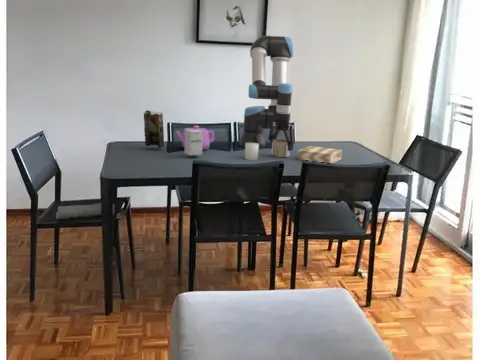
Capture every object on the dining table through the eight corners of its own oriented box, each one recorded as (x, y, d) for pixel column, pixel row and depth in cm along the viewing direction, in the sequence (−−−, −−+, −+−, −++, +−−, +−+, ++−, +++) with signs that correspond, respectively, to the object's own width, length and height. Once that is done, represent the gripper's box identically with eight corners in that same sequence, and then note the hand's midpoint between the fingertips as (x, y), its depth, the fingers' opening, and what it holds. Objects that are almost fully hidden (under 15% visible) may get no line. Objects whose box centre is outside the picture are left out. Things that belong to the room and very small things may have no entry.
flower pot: (288, 158, 302) (289, 142, 300) (270, 157, 304) (271, 141, 302) (290, 155, 311) (291, 140, 309) (272, 154, 313) (273, 138, 311)
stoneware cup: (241, 158, 296) (242, 143, 295) (249, 156, 302) (250, 141, 300) (252, 160, 292) (253, 145, 291) (260, 159, 298) (261, 143, 296)
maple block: (297, 159, 302) (298, 150, 300) (310, 154, 317) (310, 145, 316) (330, 164, 293) (331, 154, 292) (341, 159, 309) (342, 150, 308)
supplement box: (189, 155, 297) (190, 131, 294) (184, 153, 303) (184, 129, 300) (202, 155, 300) (203, 131, 297) (197, 152, 306) (197, 129, 304)
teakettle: (216, 147, 325) (217, 125, 322) (200, 151, 310) (201, 128, 308) (191, 143, 333) (191, 122, 330) (174, 147, 318) (174, 125, 315)
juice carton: (159, 112, 307) (164, 110, 313) (142, 110, 310) (148, 109, 316) (160, 148, 313) (165, 146, 319) (144, 146, 316) (149, 144, 322)
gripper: (262, 111, 306) (260, 152, 311) (296, 115, 293) (293, 159, 298) (271, 110, 311) (268, 151, 316) (304, 114, 299) (300, 157, 304)
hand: (280, 155), depth 307 cm, fingers closed on flower pot, 8 cm apart
